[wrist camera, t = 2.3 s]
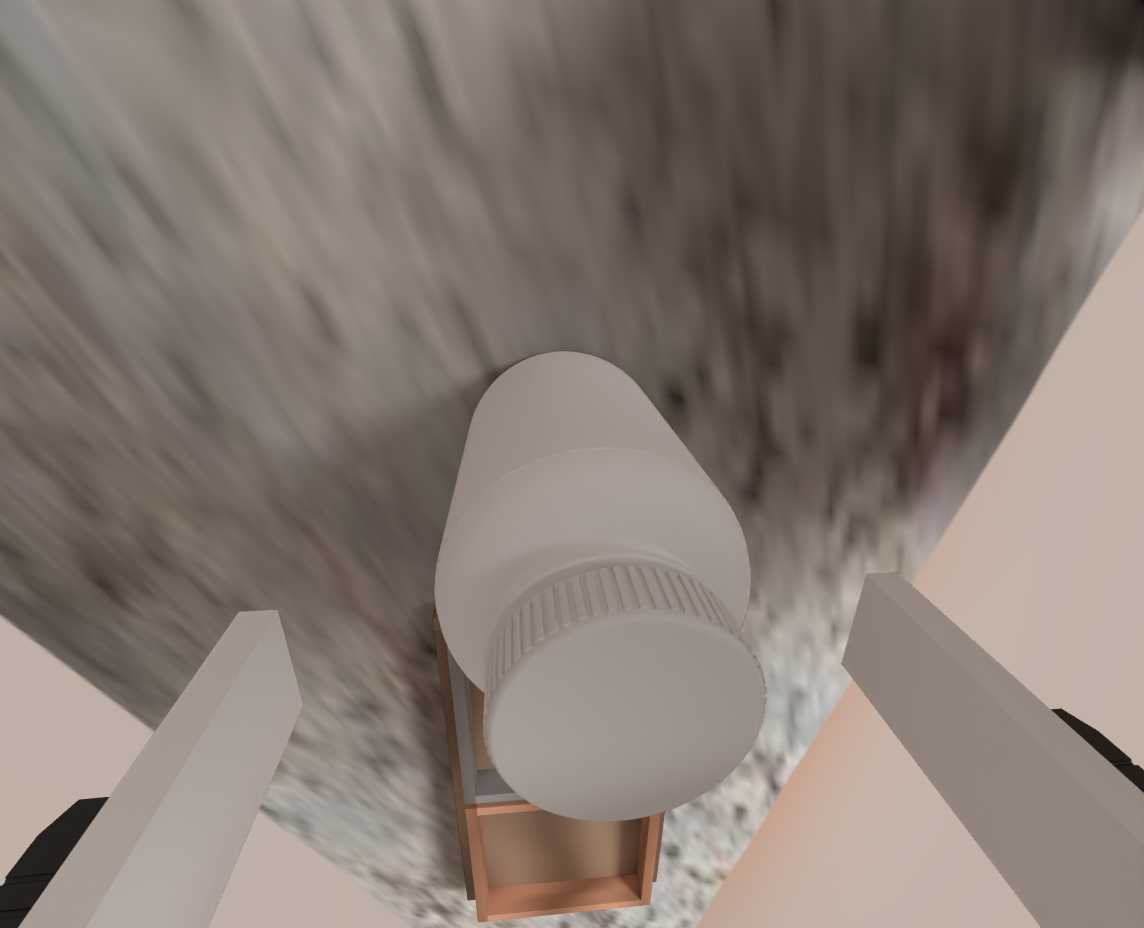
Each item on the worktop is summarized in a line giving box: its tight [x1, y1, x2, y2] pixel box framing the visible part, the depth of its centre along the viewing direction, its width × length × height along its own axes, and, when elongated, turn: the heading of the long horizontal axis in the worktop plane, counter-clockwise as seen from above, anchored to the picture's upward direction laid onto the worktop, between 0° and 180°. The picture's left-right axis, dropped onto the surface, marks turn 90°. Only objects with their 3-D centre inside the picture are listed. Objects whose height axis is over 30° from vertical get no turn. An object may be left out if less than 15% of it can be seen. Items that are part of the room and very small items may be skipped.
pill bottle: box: [434, 351, 766, 821], centre depth 17 cm, size 8×8×15 cm
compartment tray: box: [433, 605, 665, 922], centre depth 30 cm, size 12×23×3 cm, turn 179°
